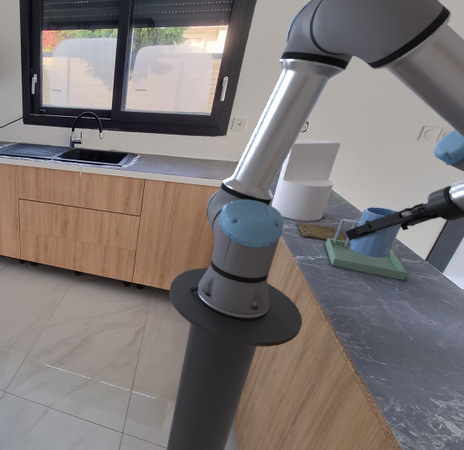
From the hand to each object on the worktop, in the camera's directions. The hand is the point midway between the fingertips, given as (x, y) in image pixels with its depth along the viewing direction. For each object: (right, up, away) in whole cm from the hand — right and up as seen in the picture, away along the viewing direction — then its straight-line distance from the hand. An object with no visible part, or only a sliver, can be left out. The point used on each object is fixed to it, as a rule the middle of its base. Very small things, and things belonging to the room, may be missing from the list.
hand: (360, 233), depth 90 cm
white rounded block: (+9, +8, +37) cm, 39 cm away
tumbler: (+1, -5, -1) cm, 5 cm away
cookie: (+4, 0, +19) cm, 19 cm away
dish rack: (+2, -8, +2) cm, 8 cm away
